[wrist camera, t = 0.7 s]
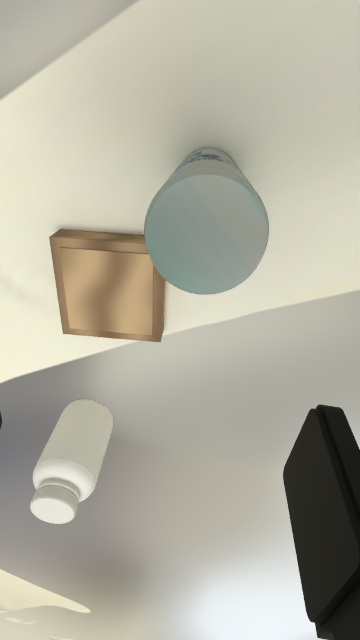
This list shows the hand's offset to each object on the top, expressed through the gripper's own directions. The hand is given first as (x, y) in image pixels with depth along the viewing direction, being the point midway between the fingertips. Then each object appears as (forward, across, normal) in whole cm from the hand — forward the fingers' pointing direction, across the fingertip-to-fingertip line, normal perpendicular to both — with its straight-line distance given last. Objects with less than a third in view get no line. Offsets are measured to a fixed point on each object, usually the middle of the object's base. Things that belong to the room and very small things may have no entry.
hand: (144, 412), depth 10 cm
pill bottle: (+29, +12, +34) cm, 46 cm away
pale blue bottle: (+30, -1, -2) cm, 30 cm away
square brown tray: (+29, +9, +11) cm, 32 cm away
